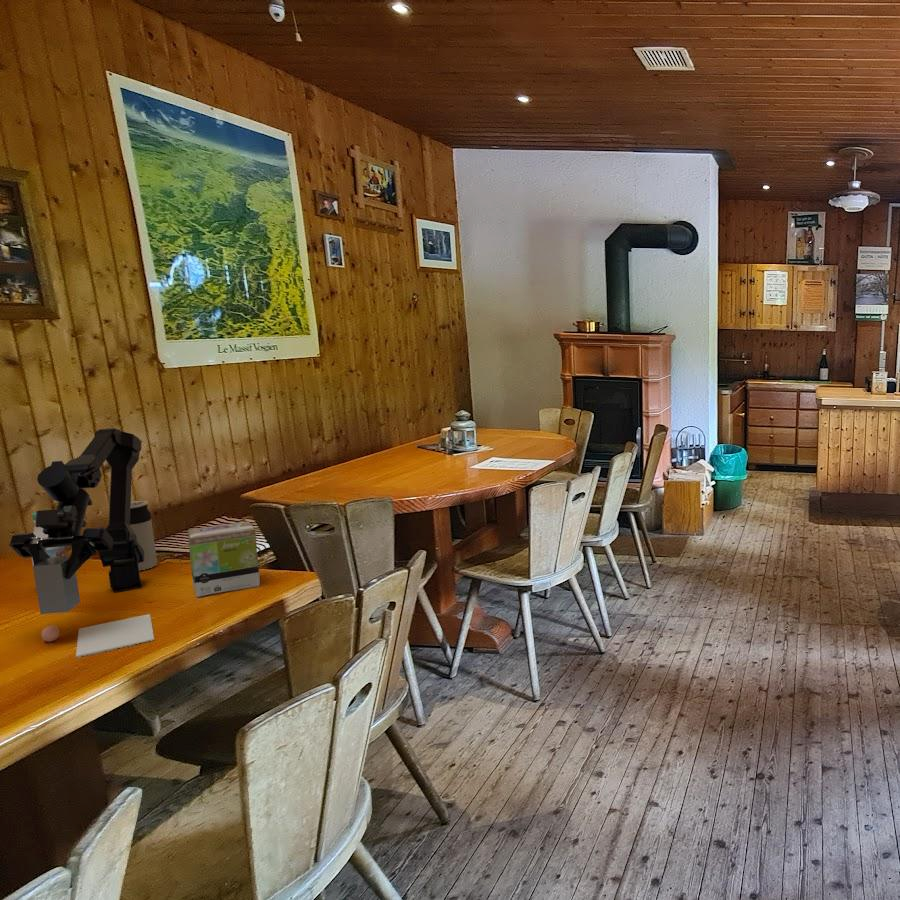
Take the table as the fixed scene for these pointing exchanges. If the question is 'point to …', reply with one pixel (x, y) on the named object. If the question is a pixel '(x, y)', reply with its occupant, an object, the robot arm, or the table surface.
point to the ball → (50, 633)
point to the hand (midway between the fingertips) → (52, 579)
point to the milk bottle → (50, 551)
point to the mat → (114, 635)
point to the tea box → (223, 558)
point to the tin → (55, 586)
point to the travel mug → (143, 532)
